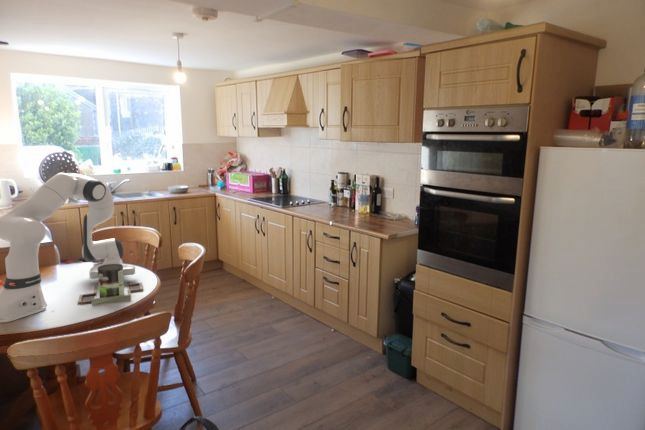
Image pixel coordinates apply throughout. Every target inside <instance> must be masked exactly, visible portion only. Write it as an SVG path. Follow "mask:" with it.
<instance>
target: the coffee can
mask: <svg viewBox="0 0 645 430" xmlns="http://www.w3.org/2000/svg"><path fill="white" fill-rule="evenodd" d="M123 265H124V264H122V265H120V264H107V265H103V266H100V267H98V268H97V269H98V278H97V279H98V293H99V294H98V295H99V297H98V298H103V297H112V296H120V295H125V287H124V285H125V284H124V276H123Z"/></svg>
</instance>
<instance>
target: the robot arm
mask: <svg viewBox="0 0 645 430" xmlns="http://www.w3.org/2000/svg"><path fill="white" fill-rule="evenodd" d="M70 197H74V198H76V199H77V200H78V199H79V200H83V201H86V202H88V203H87V204H88V212H87V213H86V214H84V216H83V221H82V223H83V225H82V240H83V241H82V242H83V243H82V248H81V254H82V258H83V259H84V260H86V261H87V262H95V261H99V260H103V262H99V263H94V264H93V265H92V267H91V268H90V270H89V279H90V280H95V279H98V269H97V268H98V267H100V266H103V265H107V264H120V265H123V277H124V276H125V277H126V276H133V275H135V274H136V266H134V264H123V261H122V258H124V247H123V245H122V242H121V241H120V240H119V239H118V238H116V237H113V238H108V239H101V240H96V241H95V240H93V229H94V228H95V227H97V226H98V225H100V224H103V223H104V222H107V221H108V220H109V219H111V218H112V217H113V216H114V214H115V204H114V202H115V201H114V198H113V195H112V192H111V189H110V187H109V185H108V184H107V183H105V182H102V181H101V180H99V179H96V178H93V177H90V176H88V175H85V174H81V173H77V172H66V173H65V172H58V173H55V175H53V176H51V177H50V178H49V179H47V180H46V181H45V182H44V183H43V184H42V185H41V186H40V187H39V188H38V189H37V190H36V191H35V192H34V193H33V194H32V195H31V196H29V198H27V199H26V200H25V201H23V202H22V203H21V204H18V205H17V206H15V208H12V209H11V210H10V211H9V212H6V213H5V214H3V215H0V239H1V240H2V241H6V242H9V251H8V254H7V255H6V257H5V260H4V263H5V271H6V273H5V274H6V277H5V280H2V279H1V280H0V286H2V287H3V288H1V290H0V323H2V324H3V323H10V322H13V321H16V320H18V319H21V318H25V317H28V316H31V315H34V314H36V313H40V312H43V311H45V310H47V308H46V307H47V302H46V300H45V295H44V293H43V290H42V285H41V282H42V277H41V276H42V275H41V272H40V268H39V250H40V246H41V242H42V241H43V240H44V239H45V237H46V234H47V229H46V227H45V226H46V225H44V223H42V222H43V221H45V220H47V219H49V218H52V217H53V216H54V214H56V212H57V211H58V210H60V208H61V207H62V206H63V205H64V204H65V203H66V202H67V201H68V199H69V198H70Z"/></svg>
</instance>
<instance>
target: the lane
mask: <svg viewBox="0 0 645 430" xmlns="http://www.w3.org/2000/svg"><path fill="white" fill-rule="evenodd" d="M126 286H127V288H128V289H127V294H124V295H120V296H112V297H103V298H99V297H98V298H97V297H96V296H97V294H98V293H97V292H98V285H94V287H93V291H92V292H91V293H82V294H79V297H78V301H77V305H78V306H79V304H80V305H86V304H91V306H97V305H98V306H99V305H106V304H114V303H121V302H130V300H131V301H132V294H131V293H138V292H137V291H139V292H143V291H144V288H143V287H144V286H143V282H134V283H132V282H130V281H128V282H126ZM95 297H96V298H95Z"/></svg>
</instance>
